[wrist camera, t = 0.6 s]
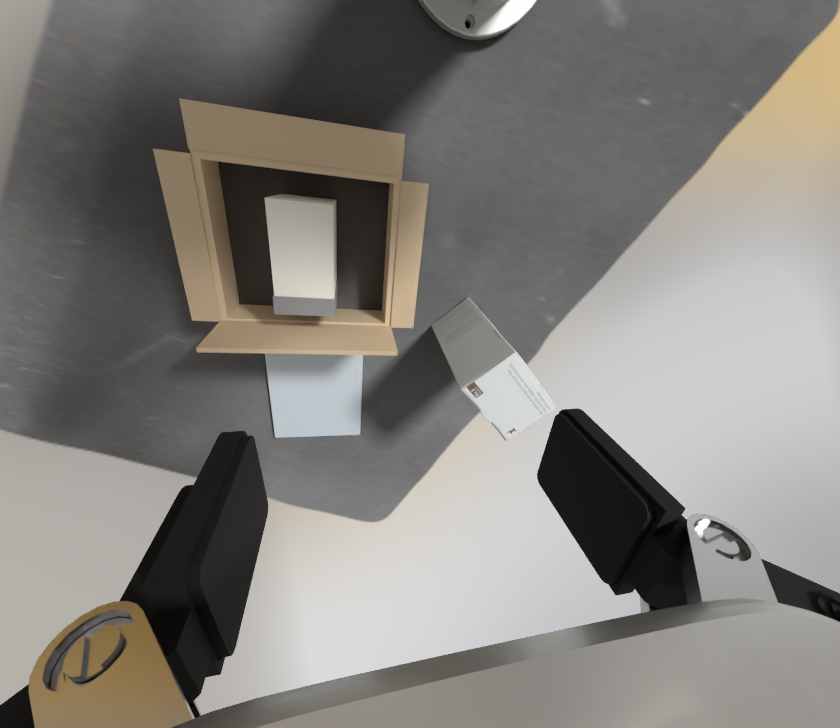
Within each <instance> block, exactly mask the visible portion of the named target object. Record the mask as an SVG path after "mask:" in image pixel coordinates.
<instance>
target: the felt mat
mask: <svg viewBox="0 0 840 728" xmlns="http://www.w3.org/2000/svg"><path fill="white" fill-rule="evenodd" d="M265 360H266V368H267V376H268V384H269V392H270V400H271V408H272V416H273V425H274V433H275V438H280V437H309V436H337V435H360V425H361V396H362V366H363V355H332V354H266V353H265Z"/></svg>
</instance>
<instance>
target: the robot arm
mask: <svg viewBox="0 0 840 728" xmlns="http://www.w3.org/2000/svg"><path fill="white" fill-rule="evenodd" d="M536 1H537V0H418V2H419V3H420V4H421V6H422V7H423V8H424V10H425V11H426V13H427V14H428V15H429V17H430V18H431V19H433V20H434V21H435V22H436V23H437V24H438V25H439V26H440V27H441V28H442V29H444V30H446V31H447V32H449V33H451V34H452V35H454V36H457V37H460V38H464V39H467V40H485V39H489V38H493V37H496V36H498V35H500V34H502V33H504V32H506V31H508V30H509V29H510V28H511V27H513V26H514V25H515V24H516V23H518V22H519V21H520V20H521V19H522V18H523V17H524V16H525V15H526V14H527V13H528V12H529V11H530V10H531V8H532V7H533V6H534V4H535V3H536ZM465 22H467V23H468V24H469V29H467V28H466V26H465ZM537 477H538V481H539V484H540V486H541V487H542V489H543V490H544V492H545V493H546V495H547V496H548V498H549V499H550V501H551V503H552V504H553V506H554V507H555V508H556V510H557V512H558V513H559V515H560V516H561V518H562V519H563V521H564V522H565V524H566V526H567V527H568V529H569V530H570V532H571V533H572V535H573V536H574V538H575V540H576V541H577V543H578V544H579V546H580V547H581V549H582V550H583V552H584V553H585V555H586V557H587V558H588V559H589V561H590V563H591V564H592V566H593V567H594V569H595V570H596V572H597V574H598V575H599V577H600V578H601V579H602V580H603V581H604V582H605V583H607V584H609V586H610V587H611V589H612V590H613V592H614V593H615V595H620V594H625V593H630V592H633V590H634V589H636V591H637V592H638V594H639V595H640V601H641V613H640V614H635V615H630V616H626V617H621V618H616V619H611V620H607V621H602V622H597V623H592V624H588V625H583V626H578V627H574V628H568V629H564V630H559V631H554V632H550V633H546V634H540V635H536V636H531V637H526V638H522V639H517V640H512V641H508V642H504V643H498V644H494V645H489V646H485V647H480V648H475V649H471V650H466V651H461V652H457V653H452V654H448V655H443V656H439V657H434V658H430V659H425V660H421V661H416V662H412V663H407V664H402V665H398V666H393V667H389V668H385V669H380V670H375V671H371V672H367V673H362V674H357V675H353V676H348V677H344V678H339V679H335V680H331V681H327V682H323V683H319V684H314V685H310V686H306V687H302V688H298V689H294V690H290V691H285V692H281V693H277V694H273V695H269V696H265V697H260V698H256V699H253V700H249V701H246V702H243V703H240V704H236V705H233V706H230V707H226V708H222V709H219V710H216V711H212V712H210V713H207V714H204V715H201V713H200V711H199V708H198V707H197V704H196V702H195V699H196V698H197V697H198V696H199V694H201V690H202V687H203V684H204V680H205V677H209V676H214V675H219V674H221V670H222V667H223V663H224V659H225V657H227V656H231V655H232V654H233V652H234V650H235V646H236V642H237V639H238V634H239V630H240V626H241V622H242V618H243V614H244V610H245V605H246V601H247V597H248V593H249V589H250V585H251V580H252V577H253V572H254V568H255V564H256V560H257V555H258V552H259V548H260V543H261V539H262V535H263V531H264V527H265V523H266V518H267V514H268V501H267V496H266V491H265V487H264V482H263V477H262V472H261V468H260V463H259V458H258V454H257V449H256V444H255V440H254V437H253V436H247V433H246V432H245V431H236V432H222V433H221V434H220V435H219V437H218V439H217V440H216V442H215V444H214V446H213V448H212V450H211V452H210V454H209V456H208V458H207V460H206V462H205V464H204V466H203V468H202V470H201V472H200V474H199V476H198V478H197V480H196V482H195V483H194V485H188V486H185V487H183V488H182V489H181V491H180V492H179V494H178V495H177V497H176V499H175V501H174V503H173V505H172V506H171V508H170V510H169V512H168V514H167V515H166V517H165V519H164V522H163V523H162V525H161V526H160V528H159V530H158V532H157V534H156V536H155V537H154V539H153V541H152V543H151V545H150V546H149V548H148V550H147V552H146V554H145V556H144V557H143V559H142V561H141V563H140V565H139V567H138V569H137V570H136V572H135V574H134V576H133V578H132V579H131V581H130V583H129V585H128V587H127V589H126V591H125V592H124V594H123V596H122V598H121V600H120V601H118V602H112V603H109V604H106V605H102V606H99V607H97V608H95V609H93V610H91V611H90V612H88V613H86V614H84V615H82V616H80V617H79V618H78V619H76V620H75V621H74V622H73V623H71V624H70V625H68V626H67V627H66V628H65V629H64V630H62V632H61V633H59V634H58V635H57V636H56V637H55V638H54V639H53V640H52V641H51V642H50V644H49V645H48V646H47V647H46V649H45V650H44V651H43V653H42V654H41V656H40V657H39V658H38V660H37V662H36V664H35V666H34V668H33V671H32V673H31V675H30V680H29V685H27V686H26V687H24V688H23V689H22V690H20V691H19V692H18V693H16V694H15V695H14V696H12V697H11V698H10V699H8V700H7V701H6V702H4V703H3V704H1V705H0V728H840V594H839V593H837V592H835V591H833V590H830V589H828V588H826V587H824V586H821V585H819V584H817V583H815V582H812V581H810V580H808V579H806V578H803V577H801V576H799V575H797V574H794V573H792V572H790V571H788V570H785V569H783V568H781V567H779V566H776V565H774V564H772V563H770V562H767V561H765V560H763V559H761V557H760V555H759V553H758V551H757V549H756V548H755V546H754V544H753V543H752V542H751V541H750V540H749V539H748V538H747V537H746V536H745V535H744V534H742V533H741V532H740V531H739V530H738V529H736V528H734V527H733V526H731V525H729V524H728V523H726V522H725V521H722V520H720V519H718V518H716V517H713V516H709V515H706V514H694V515H691V516H690V517H689V518H688V519H687V520H686V519H685V518H684V517H683V516H682V515H681V514H682V513H683V512H684V510H685V508H684V507H683V506H682V505H681V504H680V503H679V502H678V501H677V500H676V499H675V498H674V497H673V496H672V495H671V494H670V493H669V492H668V491H667V490H666V489H664V488H663V487H662V486H661V485H660V484H659V483H658V482H657V481H656V480H655V479H654V478H653V477H652V476H651V475H650V474H649V473H648V472H647V471H646V470H644V469H643V468H642V467H641V466H640V465H639V464H638V463H637V462H636V461H635V460H634V459H633V458H632V457H631V456H630V455H629V454H628V453H626V451H625V450H623V449H622V448H621V447H620V446H619V445H618V444H617V443H616V442H615V441H614V440H613V439H612V438H611V437H610V436H609V435H608V434H607V433H606V432H604V431H603V430H602V429H601V428H600V427H599V426H598V425H597V424H596V423H595V422H594V421H593V420H592V419H591V418H590V417H589V416H588V415H587V414H586V413H585V412H584V411H582V410H581V409H565V410H561V411H560V412H559V414H558V415H556V416H555V419H554V422H553V425H552V428H551V432H550V435H549V438H548V441H547V444H546V447H545V451H544V454H543V457H542V460H541V463H540V467H539V470H538V474H537Z"/></svg>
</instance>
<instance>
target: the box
mask: <svg viewBox="0 0 840 728" xmlns="http://www.w3.org/2000/svg"><path fill="white" fill-rule="evenodd" d="M265 208H266V218H267V228H268V238H269V248H270V258H271V268H272V278H273V288H274V295H273V306H274V314H280V315H305V316H330V317H335V316H336V307H337V297H338V278H337V218H336V200H334V199H326V198H317V197H308V196H299V195H290V194H277V195H273V196H269V197H266V198H265Z"/></svg>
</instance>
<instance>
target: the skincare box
mask: <svg viewBox="0 0 840 728" xmlns="http://www.w3.org/2000/svg"><path fill="white" fill-rule="evenodd" d="M431 327H432V329H433V331H434V333H435V335H436V337H437V340H438V342H439V344H440V346H441V348H442V351H443V353H444V355H445V357H446V359H447V361H448V364H449V366H450V368H451V370H452V372H453V375H454V377H455V379H456V381H457V383H458V385H459V388H460V390H461V391H462V392H463V393H464V394H465V395H466V396H467V397H468V398H469V399H470V401H471V402H472V403H473V404H474V405H475V406H476V407H477V408H478V409H479V410H480V411H481V413H482V416H483V417H484V418H485V419H486V420H487V421H488V422H491V424H492V425H493V426H494V427H495V428H496V429H497V430H498V432H499V433H500V434H501V436H502V437H503V438H504V440H506V441H507V440H509V439H510V438H512V437H513V436H514V435H516V434H518V433H519V432H520V431H522V430H524V429H525V428H527V427H528V426H529V425H531V424H533V423H534V422H536V421H537V420H539V419H540V418H542V417H544V416H545V415H547V414H549V413H550V412H551V411H553V410H554V409H555V408H556V407H555V405H554V404H553V402H552V401H551V399H550V397H549V396H548V395H547V393H546V391H545V390H544V389H543V387H542V386H541V384H540V383H539V381H538V380H537V379H536V377H535V376H534V374H533V373H532V372H531V370H530V369H529V368H528V366H527V365H526V363H525V362H524V361H523V359H522V358H521V357H520V355H519V354H518V353H517V352H516V351H515V350H514V349H513V348H512V347H511V345H510V344H509V343H508V342H507V341H506V340H505V339H504V338H503V337H502V336H501V334H500V333H499V332H498V331H497V329H496V328H495V327H494V326H493V324H492V323H491V322H490V321H489V320H488V319H487V318H486V316H485V315H484V314H483V313H482V312H481V311H480V309H479V308H478V307H477V306H476V305H475V304H474V303H473V301H472V300H471V299H470V298H469V297H468V298H466V299H465V300H464V301H462V302H461V303H460V304H458V305H457V306H456V307H455V308H453V309H452V310H451V311H449V312H448V313H447V314H446V315H444V316H443V317H442V318H440V319H439V320H438V321H437V322H435V323H434V324H433V325H432V326H431Z"/></svg>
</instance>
